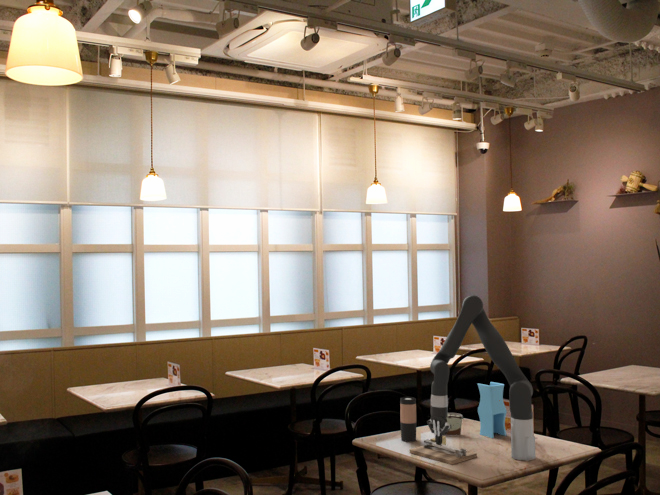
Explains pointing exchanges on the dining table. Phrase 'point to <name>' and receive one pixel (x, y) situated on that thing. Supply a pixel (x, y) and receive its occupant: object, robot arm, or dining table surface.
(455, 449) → the tongs upper arm
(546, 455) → the dining table surface
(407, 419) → the travel mug
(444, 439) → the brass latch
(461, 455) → the wooden board with rail
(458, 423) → the food container
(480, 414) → the light blue flared block
